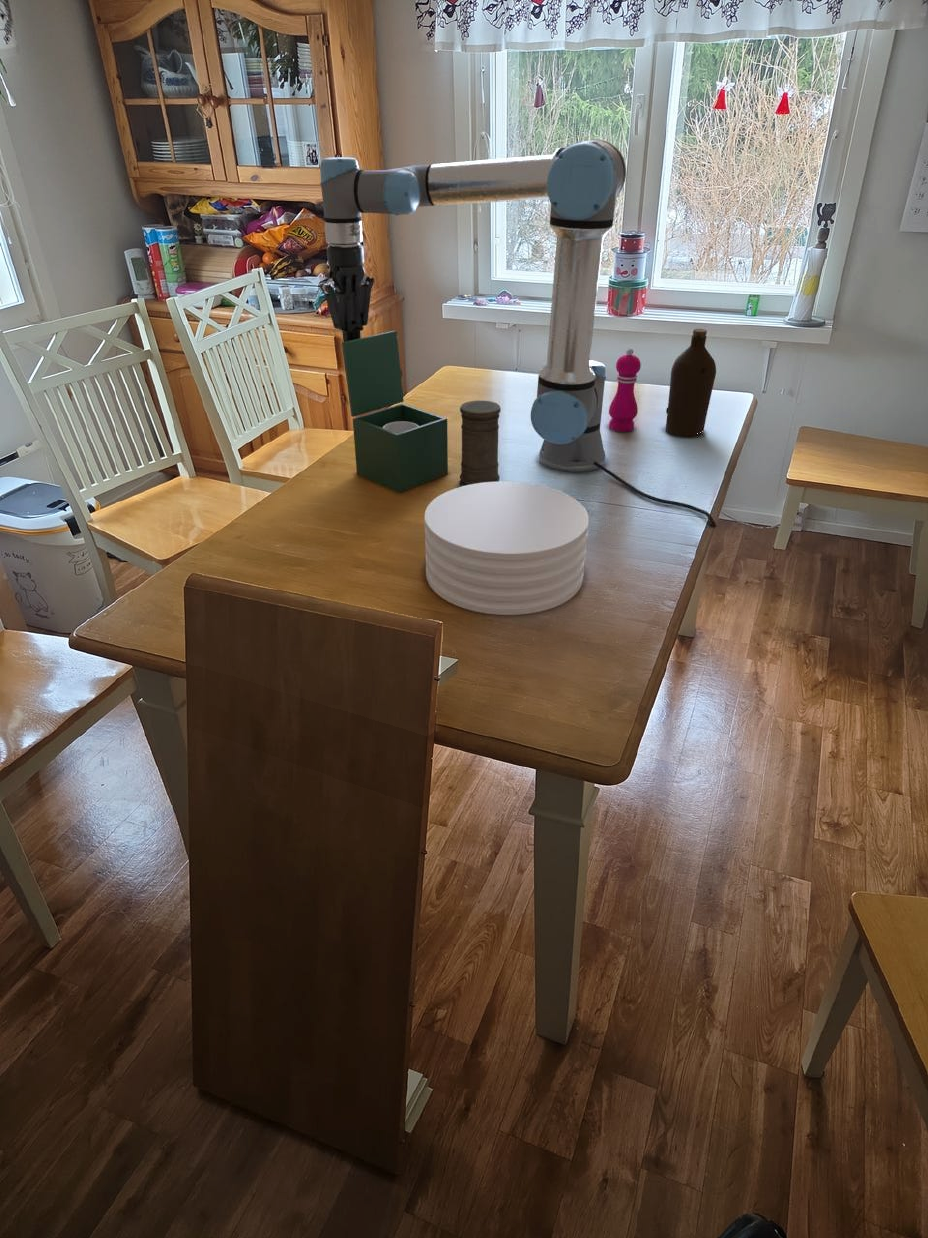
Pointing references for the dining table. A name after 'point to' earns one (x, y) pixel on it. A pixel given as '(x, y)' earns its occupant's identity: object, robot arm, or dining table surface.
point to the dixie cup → (399, 426)
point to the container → (479, 442)
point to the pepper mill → (625, 393)
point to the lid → (373, 372)
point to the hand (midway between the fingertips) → (353, 360)
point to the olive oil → (690, 389)
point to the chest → (401, 447)
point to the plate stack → (505, 547)
